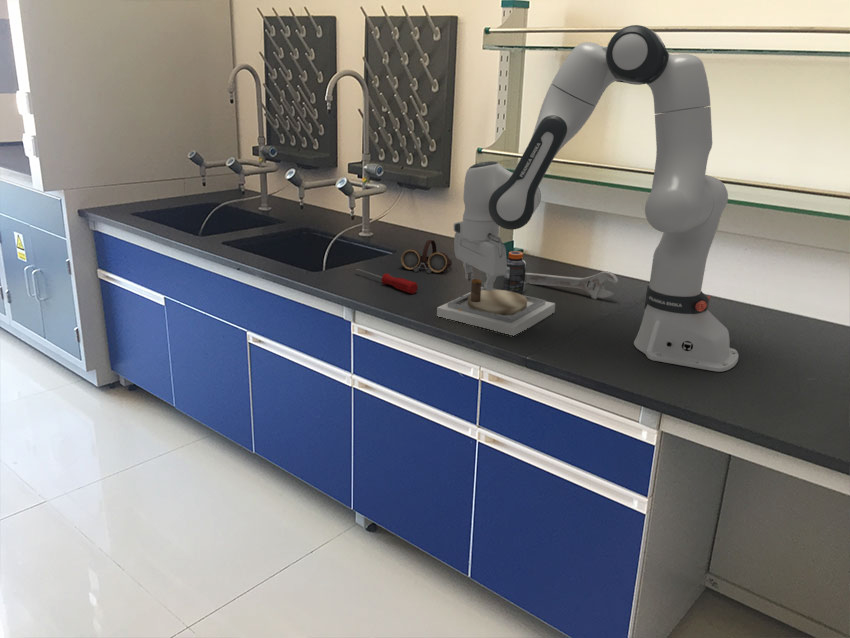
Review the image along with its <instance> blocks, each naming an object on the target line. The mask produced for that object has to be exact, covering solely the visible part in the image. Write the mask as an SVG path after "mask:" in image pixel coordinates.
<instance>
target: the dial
mask: <svg viewBox="0 0 850 638" xmlns="http://www.w3.org/2000/svg"><path fill="white" fill-rule="evenodd" d="M470 286H471V290H470V291H471V294H470V295H469V296H468V305H469V306H470V307H472V308H476V309H480V310H484V311H488V312H492V313H496V314H513V313H517V312H519V311H521V310H523V309H524V308H526V307H527V299H526V297H524V296H523V295H524V294H522V293H520V294H518V293H515V292H511V291H505V290H503V289H499V290H491V291H487V290H481V287H482V279H480V278H474V279H473V280H471V285H470Z"/></svg>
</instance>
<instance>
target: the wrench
mask: <svg viewBox="0 0 850 638" xmlns="http://www.w3.org/2000/svg"><path fill="white" fill-rule="evenodd" d="M525 278H526V280H525V281H526V282H525V284H526V283H529V284H528V285H538V286H550V287H559V288H560V287H561V288H572V289H579V290H583V291H585V293H588V294H589V295H590V297H591V299H593V300H597V299H598V298H602V299H604V298H610V297H612V296H613V295H614V292H613V291H612V290H609V289H607V288H605V286H604V282H605V281H609V282H611V283H612V284H615V285H617V284H618V283H619V279H618V277H617V275H615V274H614V273H613V272H612V271H608V270H606V271H604V270H603V271H601V272H599V273H596V274H594V275H589V276H587V277H573V276H564V275H563V276H562V275H554V274H553V275H552V274H544V273H533V272H525Z"/></svg>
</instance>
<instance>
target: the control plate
mask: <svg viewBox="0 0 850 638" xmlns="http://www.w3.org/2000/svg"><path fill="white" fill-rule="evenodd" d="M481 290H485V289H484V286H481ZM493 290H500V289H497V288H494V287H493ZM470 294H471V292H468V293H466V294H463V295H460V296H459V297H457V298H455V299H453V300H450V301H449V302H447V303H443V304H442V305H439V306H437V308H436V317H437V316H438V317H437V318H439V317H443V318H446V319H445V320H447V319H451V320H455V321H459V322H463V323H466V324H470V325H475V326H479V327H483V328H487V329H490V330H494V331H498V332H501V333H505V334H509V335H513V336H514V335H516V334H518V333H520V332H521V333H523V332H525V331H526V330H528V329H529V328H531V327H532V326H535V325H536V324H538V323H539V322H541V321H543V320H544V319H546V318H548V317H549V316H551V315H552V313H553V314H554V313H555V310H556V302H550V301H546V299H542V298H539V297H534V296H528V295H524V294H522V295H523V296H524V297H526V299H527V307H526V308H524V309H523V310H521V311H519V312H517V313H513V314H496V313H492V312H488V311H484V310H480V309H476V308H472V307H470V306H469V305H468V296H469V295H470ZM443 318H442V319H443ZM451 320H450V321H451ZM455 321H454V322H455ZM466 324H465V325H466ZM470 325H469V326H470ZM527 328H528V329H527ZM524 330H525V331H524ZM522 331H523V332H522ZM521 333H520V334H521ZM518 335H519V334H518ZM516 336H517V335H516Z"/></svg>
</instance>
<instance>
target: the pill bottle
mask: <svg viewBox="0 0 850 638" xmlns="http://www.w3.org/2000/svg"><path fill="white" fill-rule="evenodd" d="M523 258H524V253H523V252H522V251H518V250H517V251H515V250H514V251H509V252H508V258H506V259H507V271H506V273H505V275H504V276H503V283H502V284H503V286H502V290H505V291H511V292H515V293H518V294H523V293H524V292H525V284H526V283H525V281H526V276H525V273H526V266H527V263H526V261H525V260H524V259H523Z"/></svg>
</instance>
